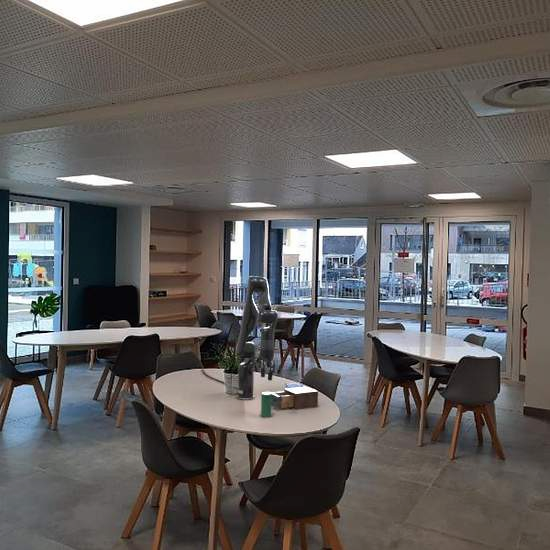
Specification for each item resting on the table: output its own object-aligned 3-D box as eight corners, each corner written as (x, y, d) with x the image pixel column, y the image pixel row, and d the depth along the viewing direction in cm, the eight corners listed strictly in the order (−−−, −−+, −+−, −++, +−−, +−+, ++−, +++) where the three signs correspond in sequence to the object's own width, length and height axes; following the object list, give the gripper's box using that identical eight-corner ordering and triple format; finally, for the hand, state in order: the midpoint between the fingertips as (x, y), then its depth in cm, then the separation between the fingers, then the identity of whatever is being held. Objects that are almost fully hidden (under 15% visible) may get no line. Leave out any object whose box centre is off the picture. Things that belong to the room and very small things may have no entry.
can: (259, 415, 282) (259, 392, 282) (268, 414, 284) (268, 391, 284) (263, 417, 277) (264, 394, 277) (272, 416, 280) (273, 393, 280)
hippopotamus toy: (309, 397, 323) (310, 381, 323) (290, 400, 314) (290, 384, 314) (298, 394, 332) (298, 378, 332) (279, 397, 323) (279, 381, 323)
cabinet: (294, 409, 295) (295, 393, 295) (284, 404, 307) (284, 388, 307) (317, 406, 302) (318, 391, 302) (306, 401, 313) (306, 386, 313)
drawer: (271, 410, 289) (271, 397, 289) (261, 405, 299) (262, 392, 299) (299, 406, 297) (299, 394, 297) (289, 402, 308) (289, 390, 308)
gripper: (279, 349, 276) (278, 380, 276) (267, 345, 288) (266, 375, 289) (266, 350, 272) (265, 382, 273) (254, 346, 285) (254, 376, 285)
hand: (266, 378), depth 281 cm, fingers open, 8 cm apart
